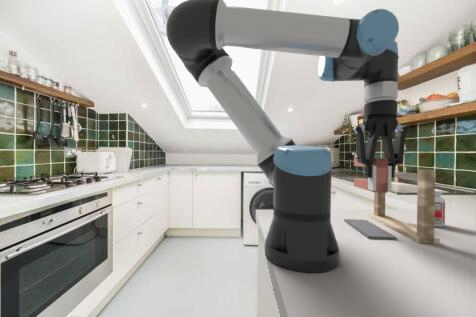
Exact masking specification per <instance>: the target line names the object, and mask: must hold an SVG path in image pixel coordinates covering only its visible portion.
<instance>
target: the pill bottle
mask: <svg viewBox="0 0 476 317" xmlns="http://www.w3.org/2000/svg"><path fill="white" fill-rule="evenodd" d="M442 195H443V190H441V189H435V218H434V228H443V227H445V225H446V221H445V220H446V200H445V198H444V197H442Z"/></svg>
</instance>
